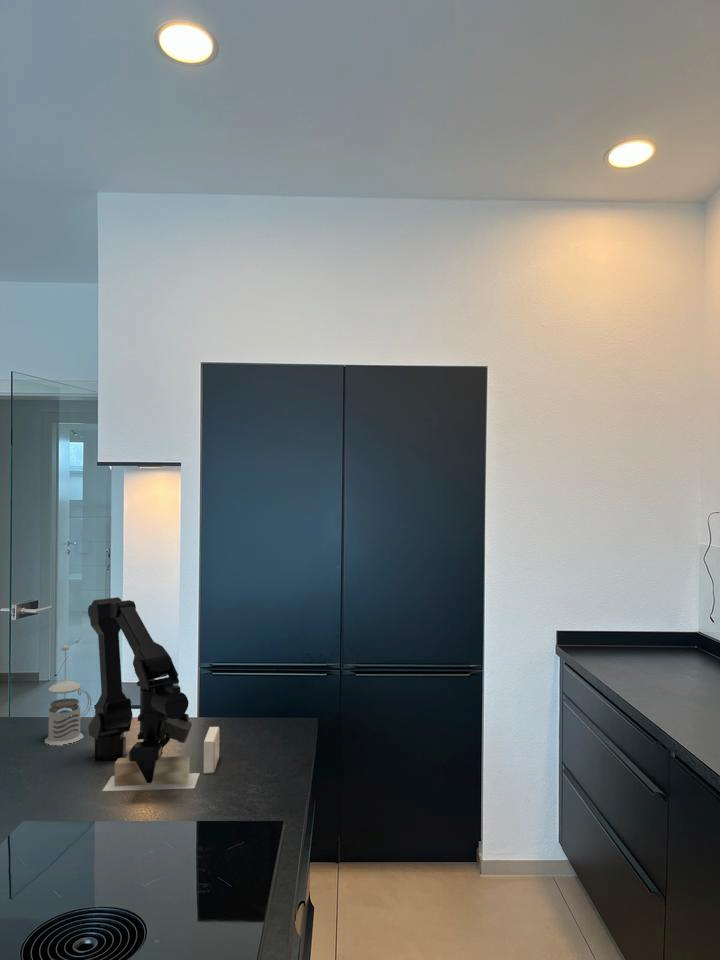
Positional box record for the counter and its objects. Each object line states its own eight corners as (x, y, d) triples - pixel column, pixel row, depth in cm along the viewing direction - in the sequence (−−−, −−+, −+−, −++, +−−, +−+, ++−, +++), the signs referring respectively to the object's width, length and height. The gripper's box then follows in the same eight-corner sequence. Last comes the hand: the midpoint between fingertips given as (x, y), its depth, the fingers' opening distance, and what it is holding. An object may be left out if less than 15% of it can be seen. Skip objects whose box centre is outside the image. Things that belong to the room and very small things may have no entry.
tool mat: (102, 793, 150) (102, 790, 150) (112, 778, 158) (112, 775, 158) (194, 790, 151) (194, 788, 151) (199, 775, 159) (199, 773, 159)
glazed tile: (203, 776, 159) (203, 741, 159) (209, 759, 169) (209, 726, 169) (214, 775, 160) (214, 741, 160) (219, 758, 169) (219, 726, 170)
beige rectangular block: (114, 785, 152) (114, 763, 152) (118, 780, 155) (118, 758, 155) (187, 783, 154) (187, 761, 154) (189, 777, 157) (189, 756, 157)
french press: (39, 737, 183) (40, 644, 183) (83, 728, 190) (84, 638, 191) (50, 748, 175) (51, 651, 176) (96, 738, 183) (97, 645, 183)
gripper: (181, 721, 146) (181, 794, 146) (195, 695, 165) (194, 759, 164) (128, 722, 145) (128, 796, 145) (148, 696, 164) (147, 761, 163)
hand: (152, 777), depth 154 cm, fingers open, 6 cm apart
